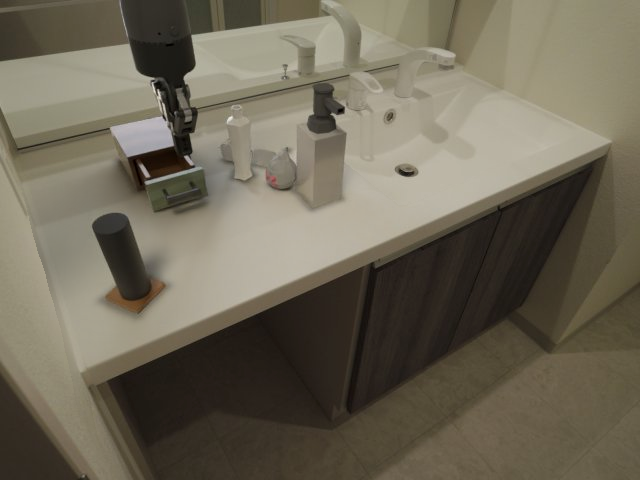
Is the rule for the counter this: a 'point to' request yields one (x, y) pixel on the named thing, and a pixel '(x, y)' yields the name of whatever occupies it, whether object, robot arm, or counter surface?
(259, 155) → the eyeglasses
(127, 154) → the cabinet
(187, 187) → the drawer
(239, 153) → the perfume bottle
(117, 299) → the coaster
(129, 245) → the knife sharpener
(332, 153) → the soap dispenser
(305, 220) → the counter surface
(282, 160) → the figurine
